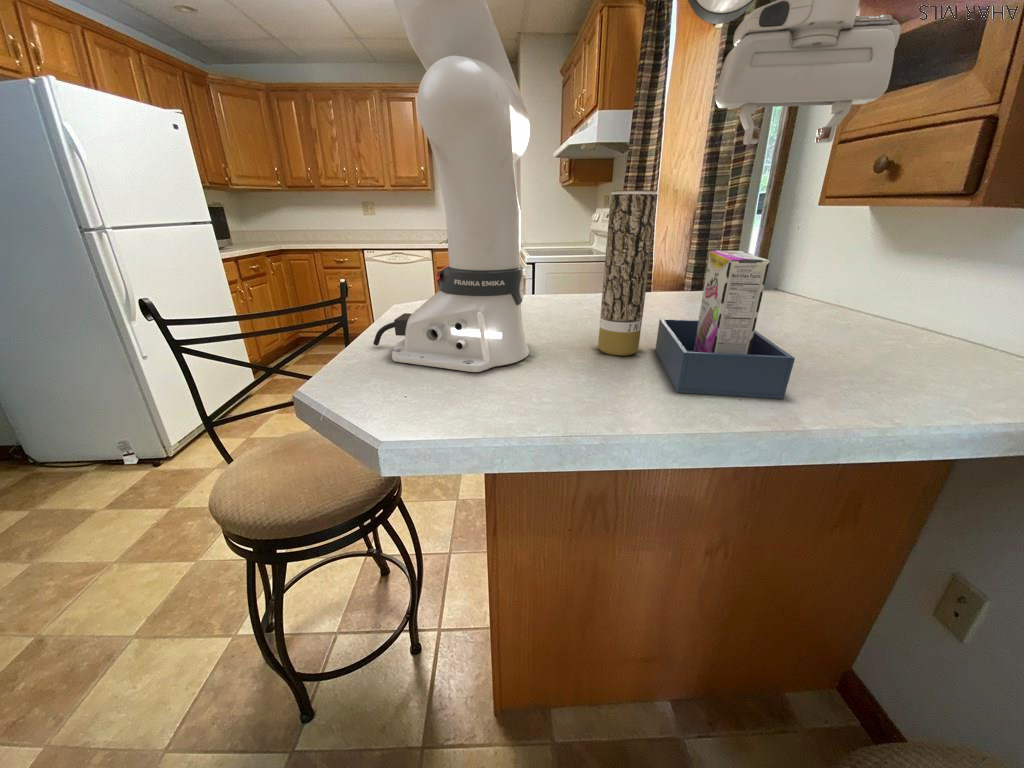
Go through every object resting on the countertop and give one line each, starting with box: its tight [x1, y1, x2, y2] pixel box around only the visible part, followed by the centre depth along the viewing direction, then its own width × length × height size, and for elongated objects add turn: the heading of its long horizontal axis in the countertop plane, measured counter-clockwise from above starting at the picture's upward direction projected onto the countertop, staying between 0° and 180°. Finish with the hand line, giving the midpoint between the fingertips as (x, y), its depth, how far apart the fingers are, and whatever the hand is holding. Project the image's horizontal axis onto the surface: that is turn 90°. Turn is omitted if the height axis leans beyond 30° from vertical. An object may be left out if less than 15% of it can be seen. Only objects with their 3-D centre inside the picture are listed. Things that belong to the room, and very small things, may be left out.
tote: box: [654, 318, 796, 400], centre depth 62 cm, size 13×18×6 cm
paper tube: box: [597, 189, 659, 357], centre depth 68 cm, size 7×7×25 cm
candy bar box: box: [693, 249, 771, 355], centre depth 60 cm, size 11×5×16 cm, turn 169°
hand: (786, 143), depth 59 cm, fingers open, 8 cm apart
